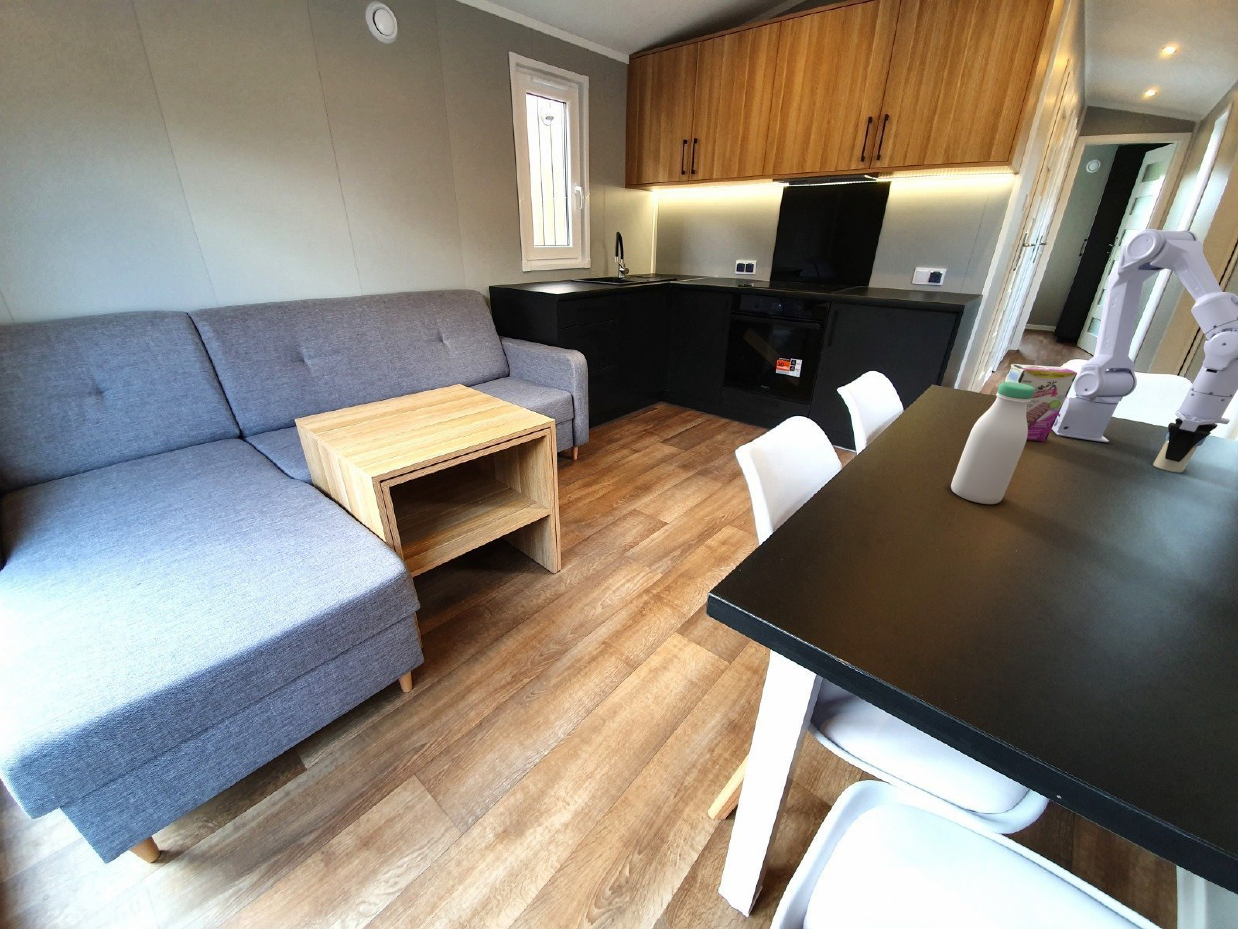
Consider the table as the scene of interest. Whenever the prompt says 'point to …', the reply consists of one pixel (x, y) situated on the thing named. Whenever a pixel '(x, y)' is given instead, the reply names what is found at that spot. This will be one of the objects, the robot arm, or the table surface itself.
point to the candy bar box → (1042, 395)
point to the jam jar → (1170, 464)
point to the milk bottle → (994, 446)
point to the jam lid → (1195, 445)
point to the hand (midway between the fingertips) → (1175, 457)
